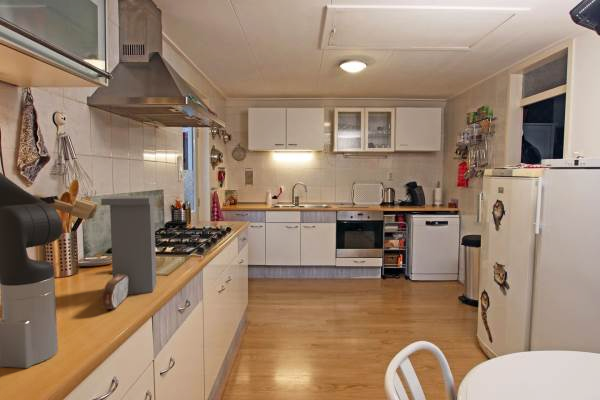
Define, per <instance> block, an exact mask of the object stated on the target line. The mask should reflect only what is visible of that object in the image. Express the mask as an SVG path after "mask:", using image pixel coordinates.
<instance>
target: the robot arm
mask: <svg viewBox="0 0 600 400" xmlns="http://www.w3.org/2000/svg"><path fill="white" fill-rule="evenodd" d="M55 199H56V200H59V197H58V195H52V196H46V197H44V198H40V199H39V198H37V197H35V196H34V194H32V193H30V192H27V191H26V190H25V189H23V188H22V187H20V186H19V185H18V184H16V183H15V182H14V181H12V180H11V179H10V178H8V177H7V176H6V175H4V174H3V173H2V172H1V171H0V303H1V304H0V307H1V320H0V368H1V367H2V368H20V369H21V368H23V369H27V368H30V367H32V366H33V365H36V364H39V363H42V362H44V361H47V360H49V359H50V358H52V357H54V356H55V355H56V354H57V353H58V351H59V346H58V345H59V344H58V342H59V341H58V326H57V325H58V324H57V310H56V309H57V308H56V307H57V302H56V290H55V289H56V286H55V268H54V264H53V263H51V262H50V261H45V260H37V259H32V258H30V257H29V256H28V250H27V249H28V248H29V249H30V248H35V247H41V246H45V245H49V244H51V243H53V242H56V241H57V240H59V238H60V237H61V236H62V233H63V230H64V225H63V220H62V218H61V216H60V214H59V213H58V210H56V209H54V208H53V207H52V206H50V205H49V204H51V203H55Z"/></svg>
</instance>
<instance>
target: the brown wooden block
mask: <svg viewBox="0 0 600 400" xmlns="http://www.w3.org/2000/svg"><path fill="white" fill-rule="evenodd" d="M33 196H35V197H37V198H39V199H40V198H44V197H47V196H45V195H42V194H39V193H35V194H33ZM49 205H50V206H52V207H53V208H54V209H55V210H56V211H60V212H64V213H66V214H70V216H71V217H75V218H79V219H81V220H82V219H83V220H85V221H88V220H92V219H94V218H95V216H96V213H97V210H98V208H99V203H98V202H94V201H91V200H87V199H84V198H81V199H76V200H75V201H74V204H72V203H68V202H67V201H62V200H59V199H58V200H56V199H55V203H51V204H49Z"/></svg>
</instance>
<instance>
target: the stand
mask: <svg viewBox="0 0 600 400" xmlns="http://www.w3.org/2000/svg"><path fill="white" fill-rule="evenodd" d="M155 201H156V198H155V195H121V196H120V195H118V196H117V195H115V196H113V195H112V196H108V197H104V198H101V199H100V202H101V203H100V205H101V206H109V213H110V215H109V217H110V219H109V220H110V237H111V238H110V241H111V244H110V245H111V264H112V268H111V269H112V278H114V277H115V276H116V275H118V274H120V275H127V276H128V277H129V291H128V295H134V294H135V295H136V294H137V295H138V294H146V293H147V294H148V293H153V292H154V290H155V288H156V286H157V261H156V259H157V257H156V234H155V233H156V231H155V230H156V228H155V227H156V226H155V225H156V223H155Z"/></svg>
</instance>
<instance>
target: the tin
mask: <svg viewBox="0 0 600 400" xmlns="http://www.w3.org/2000/svg"><path fill="white" fill-rule="evenodd" d="M128 291H129V277H128V276H127V275H120V274H118V275H116V276H115V277H114V278H113V277H112V278H111V279H109V280H108V281H107V282H106V284H105V285H104V288H103V292H102V297H101V300H102V301H101V302H102V306H103V309H104V310H115V309H117V308H118V307H119V306H120V305H122V303H123V302H124V301H126V299H127V297H128V295H129V294H128Z"/></svg>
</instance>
